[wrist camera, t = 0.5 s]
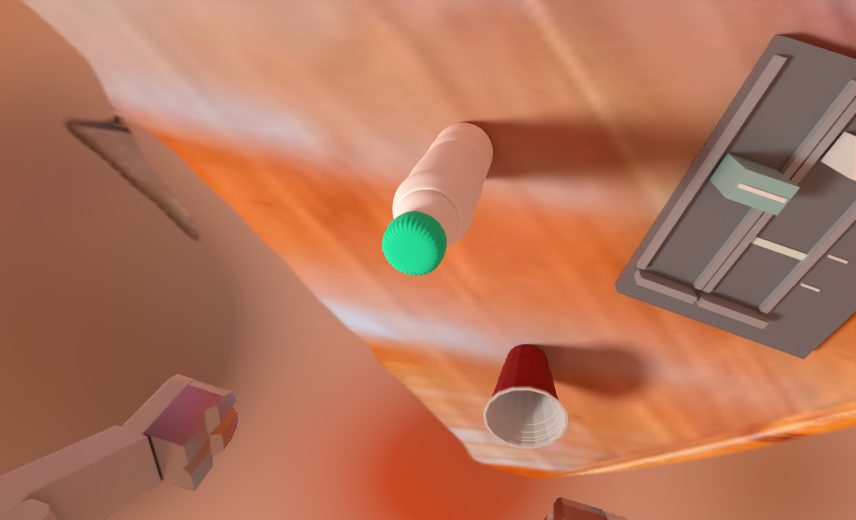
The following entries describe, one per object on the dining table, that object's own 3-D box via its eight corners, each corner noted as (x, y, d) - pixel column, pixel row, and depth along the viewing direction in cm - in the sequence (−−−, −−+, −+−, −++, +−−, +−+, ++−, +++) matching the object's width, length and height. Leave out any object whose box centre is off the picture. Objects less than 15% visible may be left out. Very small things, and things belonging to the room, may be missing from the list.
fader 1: (727, 153, 44) (747, 170, 40) (776, 169, 44) (800, 188, 40) (709, 179, 46) (726, 198, 42) (756, 195, 46) (777, 216, 41)
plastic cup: (580, 366, 65) (586, 433, 55) (522, 393, 70) (518, 459, 60) (534, 318, 63) (531, 379, 52) (477, 349, 68) (465, 411, 58)
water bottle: (505, 143, 51) (477, 245, 30) (471, 189, 55) (426, 308, 34) (455, 108, 50) (391, 187, 29) (425, 157, 54) (348, 258, 33)
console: (775, 34, 40) (795, 38, 37) (1037, 119, 39) (1082, 130, 36) (615, 283, 57) (619, 301, 54) (796, 348, 56) (812, 370, 52)
